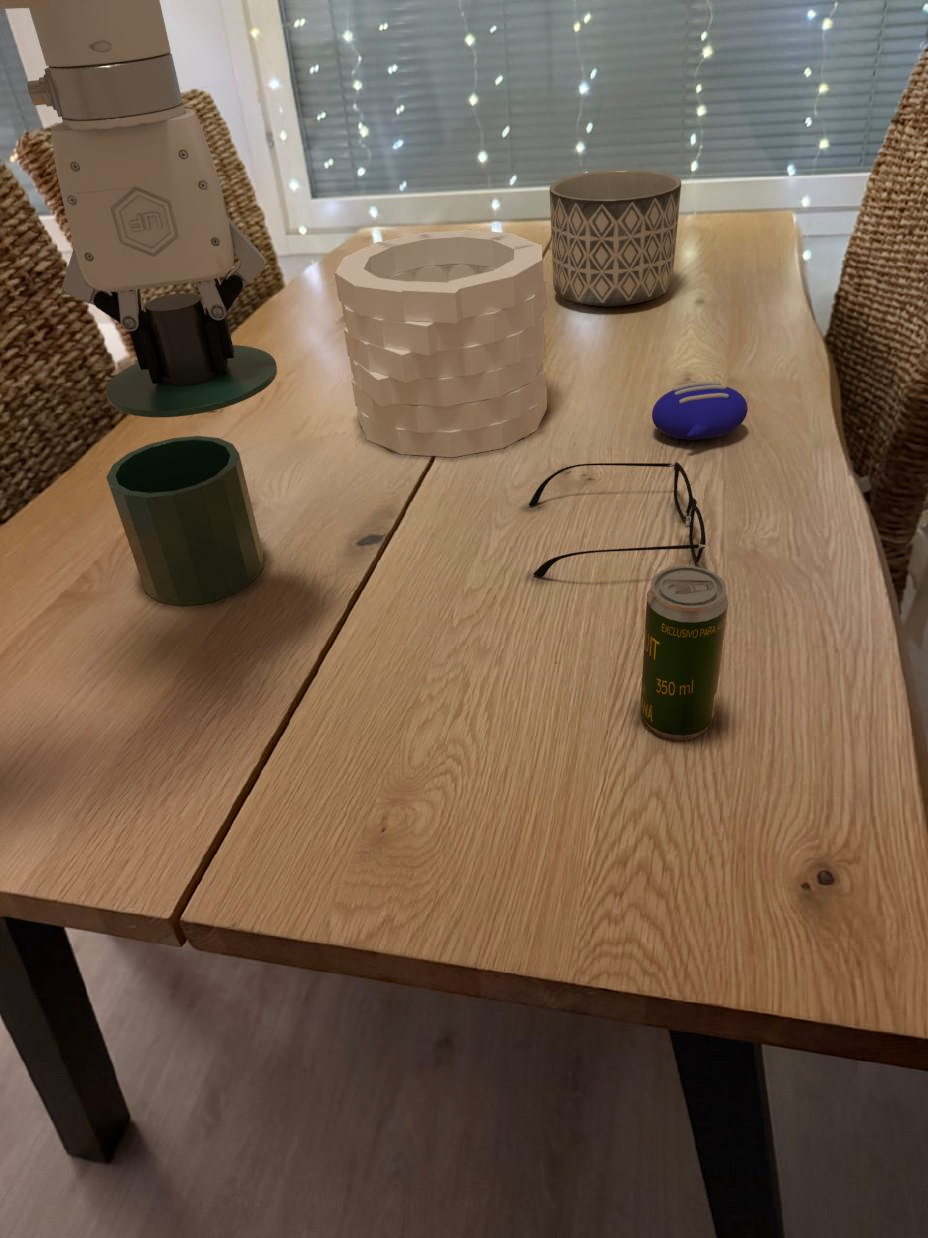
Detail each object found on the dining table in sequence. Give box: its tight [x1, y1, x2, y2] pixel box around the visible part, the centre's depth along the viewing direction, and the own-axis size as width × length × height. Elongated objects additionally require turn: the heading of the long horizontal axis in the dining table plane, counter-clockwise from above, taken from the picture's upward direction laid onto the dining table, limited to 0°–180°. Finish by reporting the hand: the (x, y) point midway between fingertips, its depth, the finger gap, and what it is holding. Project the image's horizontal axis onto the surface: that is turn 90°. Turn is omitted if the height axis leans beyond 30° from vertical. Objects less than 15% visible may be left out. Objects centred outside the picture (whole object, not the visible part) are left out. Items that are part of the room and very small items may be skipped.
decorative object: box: [651, 380, 749, 441], centre depth 103 cm, size 10×6×10 cm
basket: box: [334, 229, 548, 459], centre depth 109 cm, size 25×24×19 cm
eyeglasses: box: [528, 461, 707, 578], centre depth 88 cm, size 16×16×4 cm
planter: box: [549, 168, 682, 308], centre depth 141 cm, size 19×19×16 cm
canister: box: [106, 435, 265, 606], centre depth 86 cm, size 12×12×12 cm
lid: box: [105, 292, 278, 418], centre depth 68 cm, size 13×13×7 cm
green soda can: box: [639, 565, 729, 741], centre depth 65 cm, size 5×5×12 cm
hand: (190, 370), depth 69 cm, fingers closed on lid, 4 cm apart
